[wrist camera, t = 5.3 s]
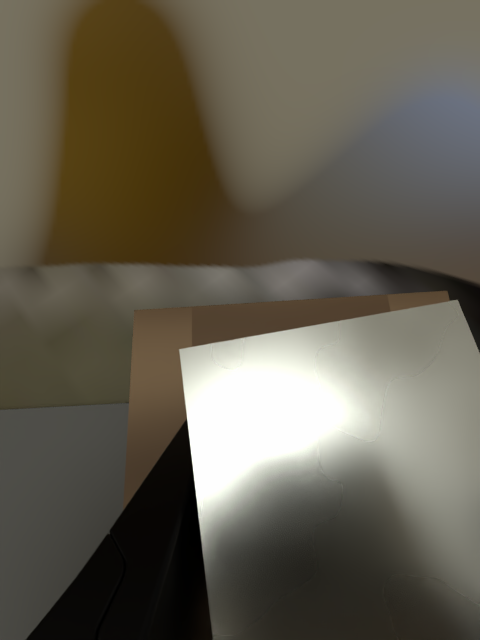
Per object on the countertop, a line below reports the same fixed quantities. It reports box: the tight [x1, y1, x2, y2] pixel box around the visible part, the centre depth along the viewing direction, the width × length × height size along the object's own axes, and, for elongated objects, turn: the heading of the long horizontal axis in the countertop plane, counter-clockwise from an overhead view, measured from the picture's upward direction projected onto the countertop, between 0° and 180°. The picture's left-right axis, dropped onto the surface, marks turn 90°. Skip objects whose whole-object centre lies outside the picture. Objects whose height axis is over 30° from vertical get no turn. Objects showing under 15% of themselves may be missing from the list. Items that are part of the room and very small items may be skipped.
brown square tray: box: [123, 291, 450, 510], centre depth 15 cm, size 12×12×5 cm
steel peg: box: [179, 300, 480, 640], centre depth 9 cm, size 5×5×8 cm
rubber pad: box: [0, 403, 129, 640], centre depth 16 cm, size 10×10×2 cm
